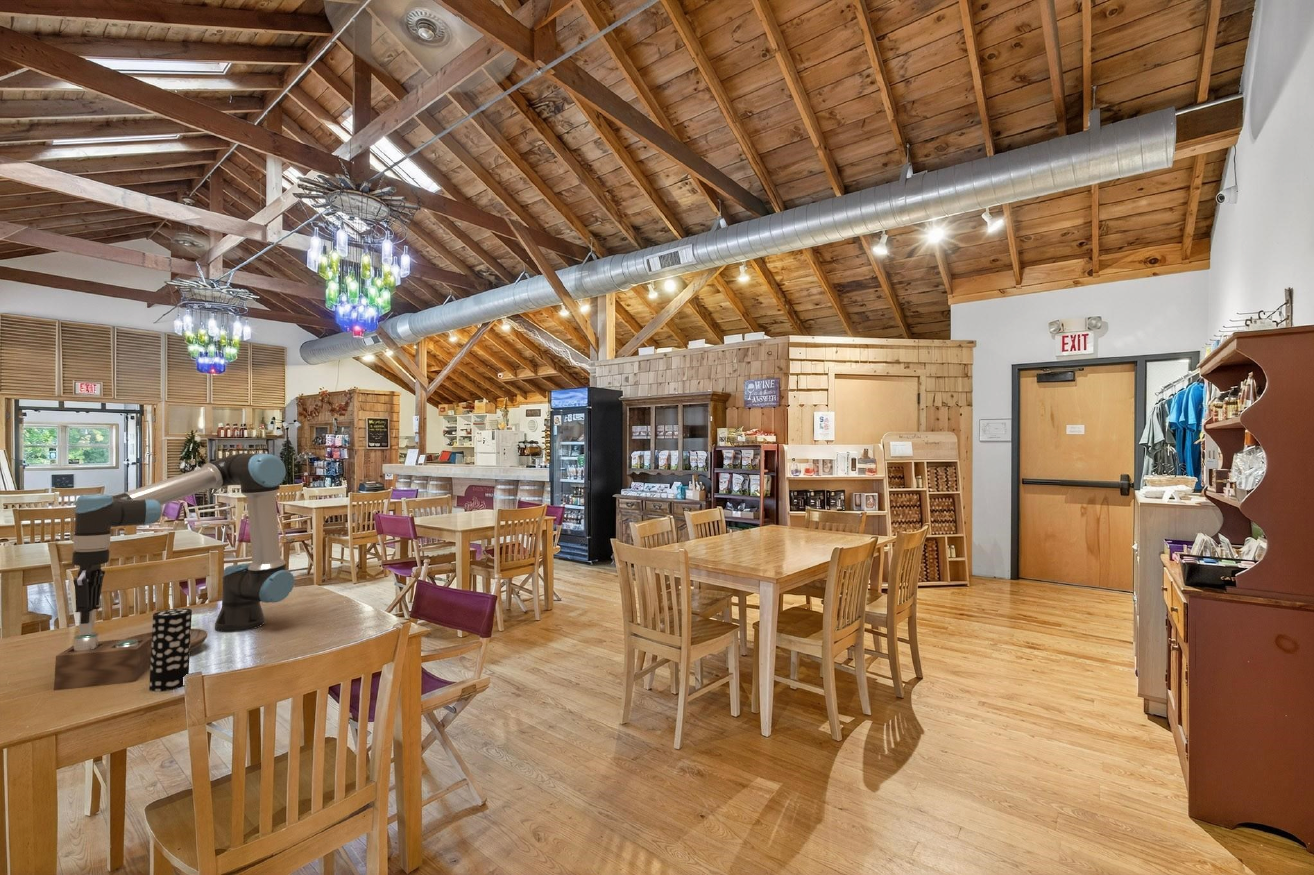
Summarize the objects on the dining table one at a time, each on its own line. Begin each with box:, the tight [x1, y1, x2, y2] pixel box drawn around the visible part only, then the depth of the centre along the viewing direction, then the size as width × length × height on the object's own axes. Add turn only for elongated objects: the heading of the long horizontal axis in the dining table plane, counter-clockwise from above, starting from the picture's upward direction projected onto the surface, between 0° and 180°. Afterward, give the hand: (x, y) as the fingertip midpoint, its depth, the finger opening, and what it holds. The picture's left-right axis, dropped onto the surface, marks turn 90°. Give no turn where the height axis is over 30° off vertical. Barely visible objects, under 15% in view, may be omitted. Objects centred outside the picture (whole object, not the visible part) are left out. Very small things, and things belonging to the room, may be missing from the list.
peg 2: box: [116, 640, 138, 648], centre depth 169 cm, size 5×5×8 cm
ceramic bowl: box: [125, 628, 208, 651], centre depth 188 cm, size 23×24×5 cm
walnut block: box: [53, 637, 152, 691], centre depth 167 cm, size 17×12×9 cm
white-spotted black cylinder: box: [148, 608, 193, 692], centre depth 163 cm, size 8×8×20 cm
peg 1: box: [73, 632, 99, 651], centre depth 165 cm, size 5×5×8 cm
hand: (86, 634), depth 165 cm, fingers closed
